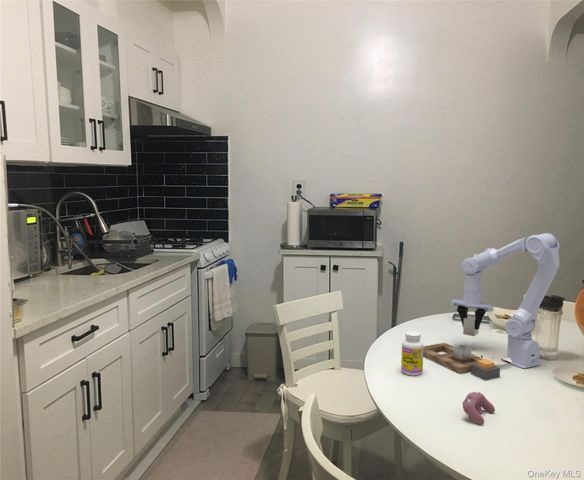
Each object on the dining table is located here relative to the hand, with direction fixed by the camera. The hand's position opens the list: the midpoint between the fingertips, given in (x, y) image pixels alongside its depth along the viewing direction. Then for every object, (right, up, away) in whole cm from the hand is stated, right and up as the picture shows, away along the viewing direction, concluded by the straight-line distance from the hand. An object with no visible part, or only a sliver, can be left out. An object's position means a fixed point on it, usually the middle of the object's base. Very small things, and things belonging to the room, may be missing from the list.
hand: (470, 327), depth 183 cm
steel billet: (0, -2, 0) cm, 2 cm away
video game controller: (-16, -14, -51) cm, 55 cm away
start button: (-4, -9, -24) cm, 26 cm away
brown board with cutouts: (-10, -9, -10) cm, 17 cm away
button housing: (-4, -11, -24) cm, 26 cm away
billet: (-8, -10, -15) cm, 19 cm away
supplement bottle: (-26, -11, -21) cm, 35 cm away
